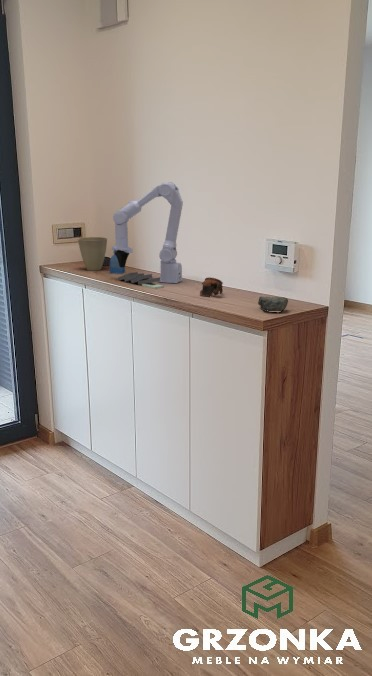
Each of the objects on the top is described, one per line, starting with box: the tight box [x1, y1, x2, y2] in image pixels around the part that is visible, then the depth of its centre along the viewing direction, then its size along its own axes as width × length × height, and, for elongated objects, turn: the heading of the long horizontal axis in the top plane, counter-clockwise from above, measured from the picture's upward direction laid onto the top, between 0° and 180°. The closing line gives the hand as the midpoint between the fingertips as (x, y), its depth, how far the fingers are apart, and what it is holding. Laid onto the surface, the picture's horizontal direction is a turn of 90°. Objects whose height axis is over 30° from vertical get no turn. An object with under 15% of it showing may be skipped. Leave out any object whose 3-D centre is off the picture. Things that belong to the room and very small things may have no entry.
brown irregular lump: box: [199, 276, 224, 298], centre depth 239 cm, size 12×10×8 cm
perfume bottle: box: [109, 250, 126, 275], centre depth 294 cm, size 6×6×12 cm
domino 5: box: [141, 282, 165, 290], centre depth 258 cm, size 2×5×9 cm
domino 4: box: [137, 276, 161, 285], centre depth 261 cm, size 2×5×9 cm
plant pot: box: [77, 236, 108, 271], centre depth 303 cm, size 15×15×16 cm
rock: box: [257, 296, 289, 312], centre depth 213 cm, size 12×10×5 cm
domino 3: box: [130, 273, 154, 284], centre depth 264 cm, size 2×5×9 cm
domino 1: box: [117, 271, 139, 281], centre depth 271 cm, size 2×5×9 cm
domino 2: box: [123, 272, 145, 283], centre depth 267 cm, size 2×5×9 cm
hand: (122, 267), depth 274 cm, fingers closed
